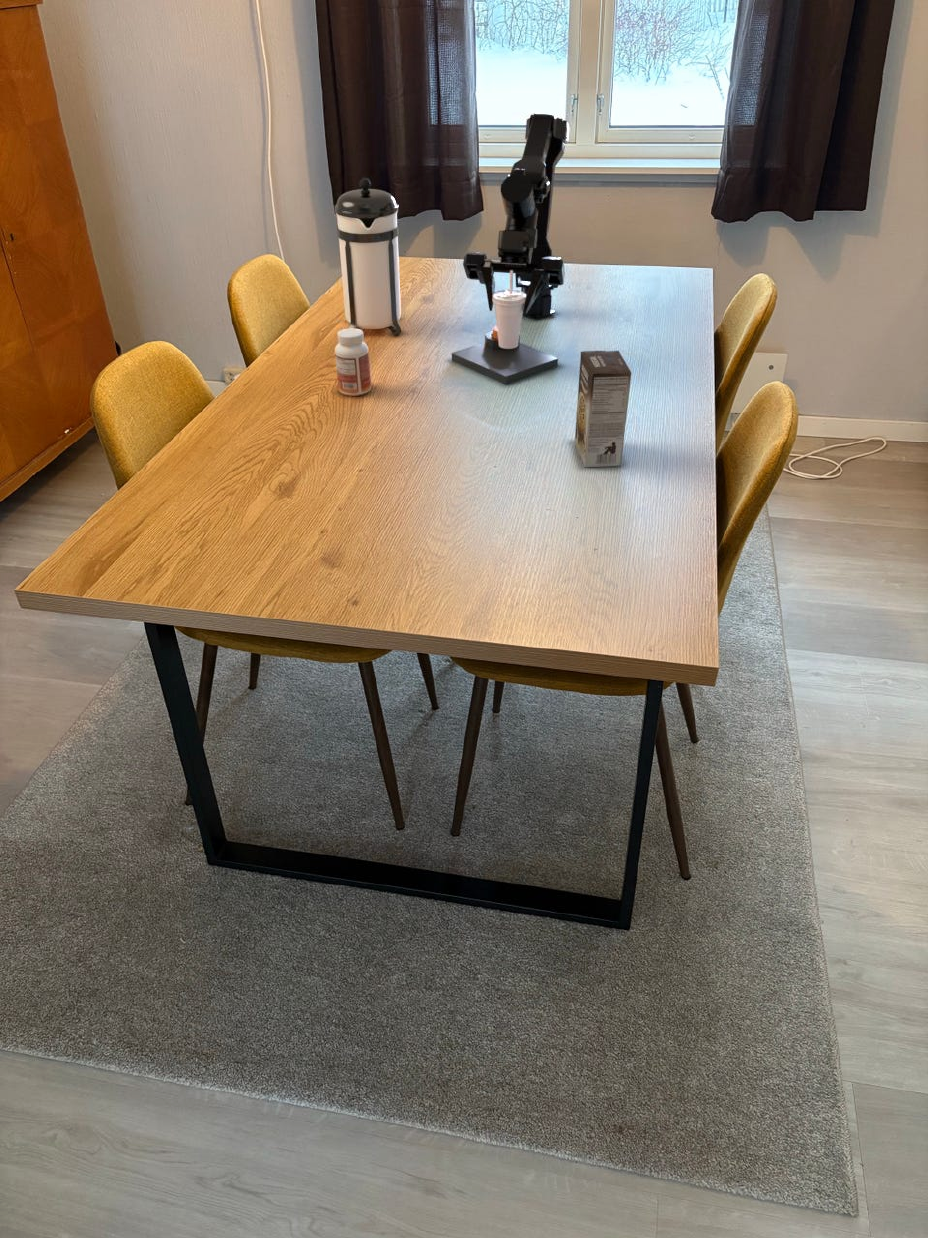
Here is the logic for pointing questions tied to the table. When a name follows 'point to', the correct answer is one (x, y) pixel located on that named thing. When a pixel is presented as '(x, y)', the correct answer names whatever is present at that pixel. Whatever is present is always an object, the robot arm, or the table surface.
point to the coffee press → (369, 258)
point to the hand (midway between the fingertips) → (507, 311)
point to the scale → (504, 360)
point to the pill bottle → (352, 363)
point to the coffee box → (602, 408)
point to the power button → (495, 332)
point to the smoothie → (509, 315)
